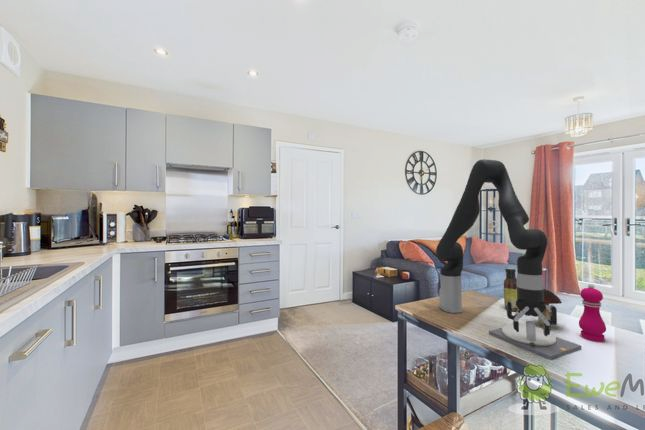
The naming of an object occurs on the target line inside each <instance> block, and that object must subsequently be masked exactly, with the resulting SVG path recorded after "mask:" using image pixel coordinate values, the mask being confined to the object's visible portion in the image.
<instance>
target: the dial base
mask: <svg viewBox="0 0 645 430" xmlns="http://www.w3.org/2000/svg"><path fill="white" fill-rule="evenodd" d="M488 334H489V335H490V336H493V337H494V338H498V339H500V340H502V341H504V342H507V343H509V344H512V345H513V346H517V347H519V348H521V349H524V350H526V351H528V352H529V353H530V352H531V353H532V354H535V355H538V356H541V357H542V358H544V359H547V360H549V361H552V360H556V359H558V358H561V357H563V356H566V355H569V354H572V353H575V352H577V351H580V350H582V345H581V344H578V343H575V342H572V341H570V340H566V339H563V338H560V337H557V336H555V337H556V343H555V344H554V345H550V346H536V345H535V347H534V346H531V345H530V344H525V343H521V342H518V341H515V340H513V339H510V338H508V337H507V336H505V335H504V334H503V333H502V327H500V328H495V329H492V330H488Z"/></svg>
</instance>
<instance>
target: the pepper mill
mask: <svg viewBox="0 0 645 430" xmlns="http://www.w3.org/2000/svg"><path fill="white" fill-rule="evenodd" d="M580 297H581V299H582V305H583V312H582V314H581V316H580V318H579V320H578V326H579V328H580V329H581V330H580V336H581V338H583V339H586V340H588V341H591V342H598V343H602V342H604V341H605V335H604V334H605V332H606V331H607V326H606V324H605V322H604V320H603V318H602V316H601V312H600V308H601V307H602V302H601V301H602V300H603V299H604V296H603V293H602V291H600V289H597V288H595V285H594V284H593V283H589V284H587V287H585V288H582V289H581V290H580Z"/></svg>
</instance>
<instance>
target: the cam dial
mask: <svg viewBox="0 0 645 430" xmlns="http://www.w3.org/2000/svg"><path fill="white" fill-rule="evenodd" d="M501 328H502V333H503V334H504V335H505V336H507V337H508V338H510V339H513V340H515V341H518V342H521V343H525V344H530V345H531V346H534V347H535V345H536V346H550V345H554V344H555V343H556V337H557V336H556V335H555V334H553V333H552V332H550V334H549V335H548V336H544V333H543V328H541V327H538V326H536V321H535V322H534V321H531V320H526V322H525V324H524V323H523V324H521V323H519V332H516V330H514V327H513V323H507V324H504V325H502V326H501Z"/></svg>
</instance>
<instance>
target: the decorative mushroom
mask: <svg viewBox="0 0 645 430" xmlns="http://www.w3.org/2000/svg"><path fill="white" fill-rule="evenodd" d="M544 304H545V305H549V306H550V304H551V305H557V304H562V301H561V298H560V297H558V296H557V295H556V294H555V293H554V292H553V291H550V290H549V289H544ZM542 314H543V315H544V316H545V318H546V319H547V320H550V312H549V311H548V309H545V310H544V311H543V312H542ZM537 320H538V323H539V324H540V325H541V326H543V323H544V321H543V320H542V319H541V318H540V316H537Z"/></svg>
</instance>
